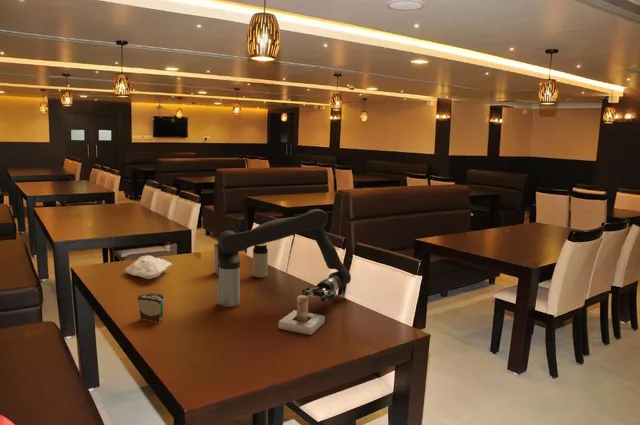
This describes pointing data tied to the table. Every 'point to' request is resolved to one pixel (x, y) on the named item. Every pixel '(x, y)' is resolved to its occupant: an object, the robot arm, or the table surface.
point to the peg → (302, 308)
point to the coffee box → (216, 259)
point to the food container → (151, 306)
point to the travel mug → (260, 260)
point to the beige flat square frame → (301, 323)
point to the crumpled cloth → (148, 267)
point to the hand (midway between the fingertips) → (312, 298)
